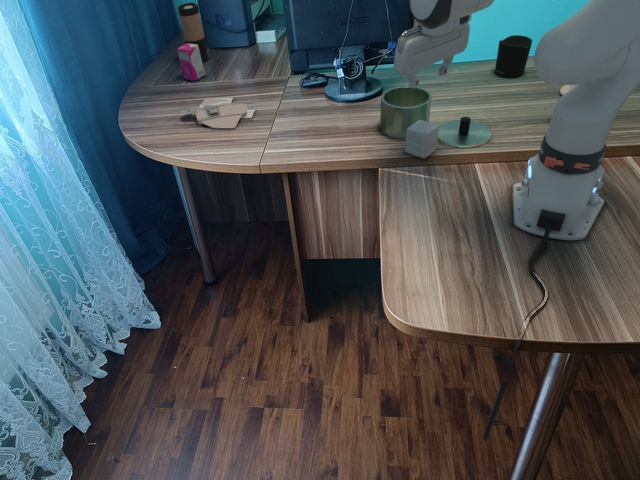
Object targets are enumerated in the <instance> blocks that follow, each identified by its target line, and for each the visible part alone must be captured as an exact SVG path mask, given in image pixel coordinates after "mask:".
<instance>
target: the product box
mask: <svg viewBox="0 0 640 480" xmlns="http://www.w3.org/2000/svg"><path fill="white" fill-rule="evenodd" d="M439 126H440V125H439V124H436V123H432V122H430V121H429V122H426V121H423V120H418V121H417V122H415V123H414V124H413V125H411V126H410V127H409V128H407V134H406V138H405V151H404V152H405V153H408V154H410V155H412V156H415V157H419V158H422V159H426V158H427V157H428V156H430V155H431V154H432V153H433V152H435V151H436V150H437V148H438V141H439V140H438V132H439ZM432 150H433V151H432ZM431 151H432V152H431ZM427 154H428V155H427ZM426 155H427V156H426Z"/></svg>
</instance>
